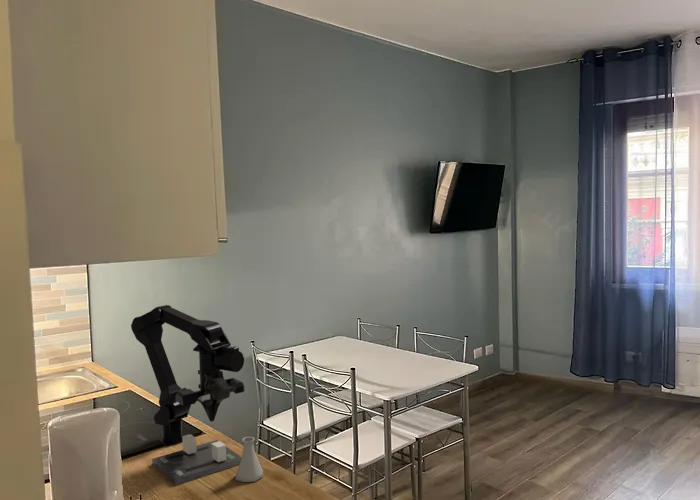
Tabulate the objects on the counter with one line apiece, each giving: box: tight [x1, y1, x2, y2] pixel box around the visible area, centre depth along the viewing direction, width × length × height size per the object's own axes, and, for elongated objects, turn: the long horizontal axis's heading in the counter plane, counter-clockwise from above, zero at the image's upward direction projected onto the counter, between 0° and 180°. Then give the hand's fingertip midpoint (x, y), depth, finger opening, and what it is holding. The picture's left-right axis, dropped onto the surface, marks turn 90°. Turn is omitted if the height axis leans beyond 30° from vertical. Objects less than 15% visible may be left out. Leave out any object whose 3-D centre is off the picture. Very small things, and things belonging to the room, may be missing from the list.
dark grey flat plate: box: [151, 439, 242, 486], centre depth 156 cm, size 16×19×2 cm
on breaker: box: [212, 440, 227, 462], centre depth 154 cm, size 4×2×4 cm, turn 39°
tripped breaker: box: [182, 433, 197, 454], centre depth 159 cm, size 4×2×4 cm, turn 39°
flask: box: [235, 436, 264, 483], centre depth 147 cm, size 7×7×10 cm
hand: (211, 421), depth 163 cm, fingers closed
